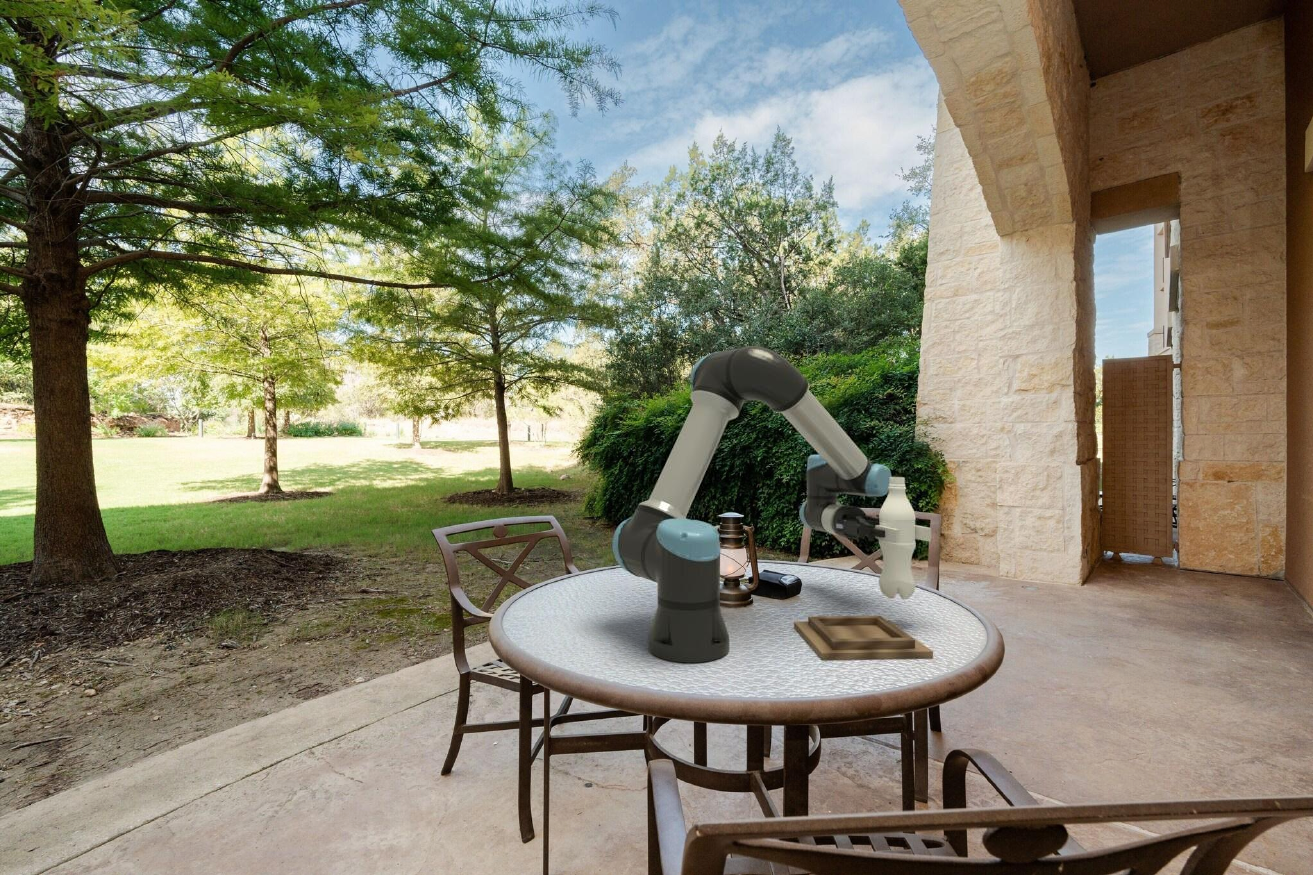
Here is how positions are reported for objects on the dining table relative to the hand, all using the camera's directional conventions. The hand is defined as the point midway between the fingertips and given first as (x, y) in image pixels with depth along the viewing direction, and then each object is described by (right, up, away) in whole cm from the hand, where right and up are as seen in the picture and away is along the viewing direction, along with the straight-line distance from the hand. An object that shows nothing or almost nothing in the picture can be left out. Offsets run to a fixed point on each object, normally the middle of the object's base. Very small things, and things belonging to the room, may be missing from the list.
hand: (913, 535), depth 119 cm
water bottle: (-1, -14, +5) cm, 15 cm away
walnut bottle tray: (-13, -20, -6) cm, 24 cm away
